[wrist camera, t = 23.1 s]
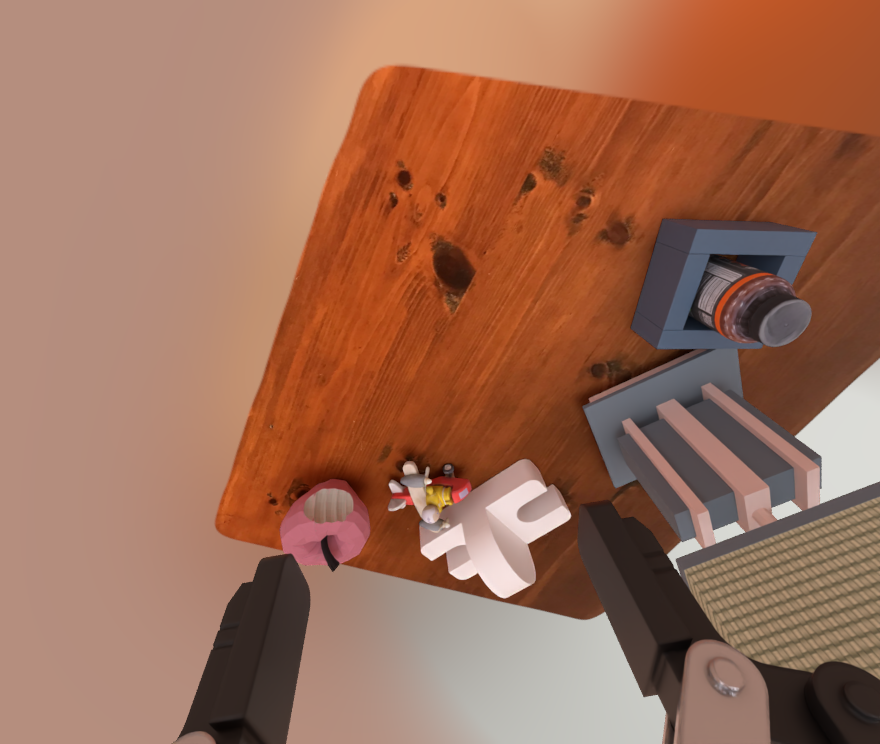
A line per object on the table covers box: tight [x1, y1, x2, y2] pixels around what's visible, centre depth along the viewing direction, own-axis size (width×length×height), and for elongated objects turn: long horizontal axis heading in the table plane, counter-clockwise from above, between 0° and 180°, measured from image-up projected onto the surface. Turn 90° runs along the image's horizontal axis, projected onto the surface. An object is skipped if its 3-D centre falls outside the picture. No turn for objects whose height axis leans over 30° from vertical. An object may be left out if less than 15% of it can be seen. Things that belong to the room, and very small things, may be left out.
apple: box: [280, 479, 370, 572], centre depth 46 cm, size 10×9×10 cm
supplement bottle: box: [688, 254, 811, 347], centre depth 36 cm, size 6×6×11 cm
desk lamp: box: [582, 349, 880, 680], centre depth 35 cm, size 18×14×33 cm
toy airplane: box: [388, 461, 472, 533], centre depth 48 cm, size 9×9×6 cm
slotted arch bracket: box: [419, 459, 571, 598], centre depth 50 cm, size 10×18×11 cm, turn 129°
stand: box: [631, 219, 817, 349], centre depth 39 cm, size 11×11×5 cm
